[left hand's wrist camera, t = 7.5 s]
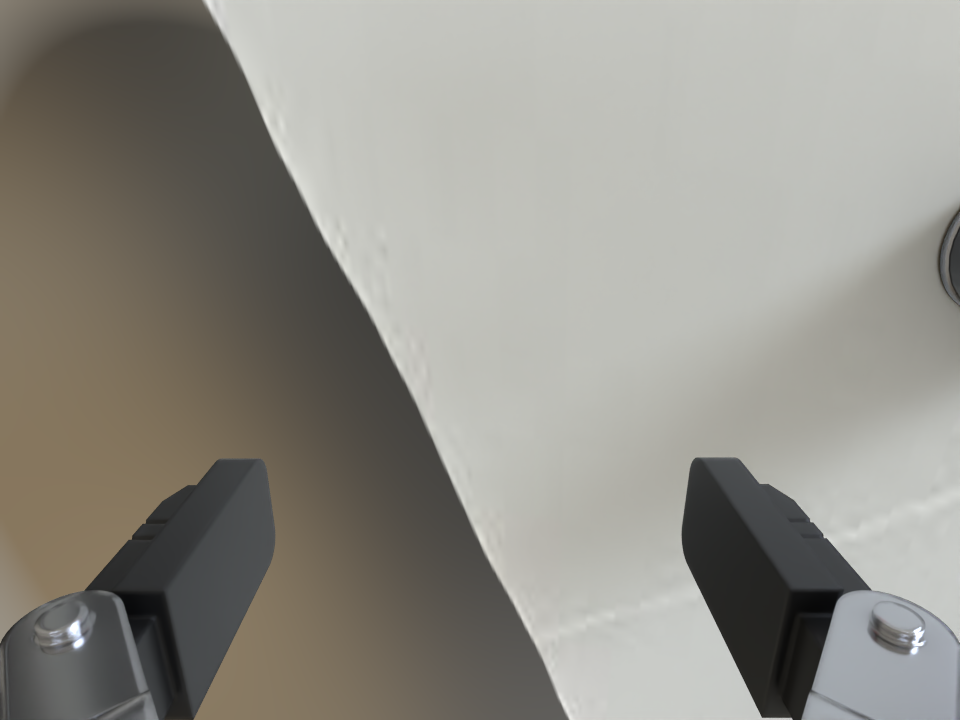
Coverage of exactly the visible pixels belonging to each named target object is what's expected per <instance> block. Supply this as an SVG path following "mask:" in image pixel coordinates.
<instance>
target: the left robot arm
mask: <svg viewBox="0 0 960 720" xmlns="http://www.w3.org/2000/svg"><path fill="white" fill-rule="evenodd" d="M940 272H941V277H942V281H943V284H944V286H945V289H946V290H947V292H948V294H949V295H950V297H951V298H952V299H953V300H954V301H955V302H956V303H957V304H958V305H960V212H959V213H958V214H957V216H956V217H955V219H954V220H953V222H952V224H951V226H950V228H949V229H948V232H947V234H946V236H945V239H944V242H943V246H942V250H941V256H940ZM274 546H275V526H274V519H273V511H272V504H271V497H270V490H269V483H268V475H267V469H266V466H265V463H264V461H263V460H262V459H219V460H217V461H216V462H215V463H214V465H213V466H212V467H211V468H210V469H209V471H208V472H207V473H206V474H205V476H204V477H203V478H202V479H201V480H200V482H199V483H198V484H197V485H188V486H186V487H185V488H183V489H181V490H180V491H178V492H176V493H175V494H173V495H172V496H170V497H169V498H167V499H165V500H164V501H162V502H161V504H160V505H159V506H158V507H157V508H156V509H155V510H154V512H153V513H152V514H151V515H150V516H149V517H148V519H147V520H146V524H142V525H141V526H140V528H139V529H138V530H137V531H136V532H135V533H134V534H133V536H132V540H128V541H127V543H126V544H125V545H124V546H123V547H122V548H121V549H120V550H119V552H118V553H117V554H116V555H115V556H114V557H113V559H112V560H111V561H110V562H109V563H108V564H107V565H106V567H105V568H104V569H103V570H102V571H101V572H100V573H99V575H98V576H97V577H96V578H95V579H94V580H93V581H92V583H91V584H90V585H89V586H88V587H87V588H86V589H85V591H81V592H76V593H72V594H68V595H65V596H62V597H59V598H57V599H54V600H52V601H49V602H47V603H45V604H43V605H41V606H39V607H38V608H36V609H34V610H33V611H31V612H29V613H28V614H27V615H25V616H24V617H23V618H21V619H20V620H19V621H18V622H17V623H15V624H14V625H13V626H12V627H11V628H10V630H9V631H8V632H7V633H6V635H5V636H4V637H3V639H2V641H1V643H0V720H193V719H194V717H195V715H196V713H197V711H198V709H199V707H200V705H201V703H202V701H203V699H204V697H205V695H206V693H207V691H208V689H209V687H210V685H211V683H212V681H213V679H214V677H215V675H216V673H217V671H218V669H219V667H220V665H221V663H222V661H223V659H224V657H225V655H226V652H227V651H228V648H229V646H230V644H231V642H232V640H233V638H234V636H235V634H236V632H237V630H238V628H239V626H240V624H241V622H242V620H243V618H244V616H245V614H246V612H247V610H248V608H249V606H250V604H251V602H252V600H253V598H254V596H255V594H256V592H257V590H258V588H259V586H260V584H261V582H262V580H263V577H264V575H265V573H266V571H267V569H268V567H269V565H270V563H271V560H272V557H273V552H274ZM682 546H683V552H684V556H685V559H686V562H687V564H688V566H689V569H690V571H691V573H692V575H693V577H694V579H695V581H696V583H697V585H698V587H699V589H700V591H701V593H702V595H703V597H704V599H705V601H706V603H707V605H708V608H709V610H710V612H711V614H712V616H713V618H714V620H715V622H716V624H717V626H718V628H719V630H720V632H721V634H722V636H723V638H724V640H725V642H726V644H727V647H728V649H729V651H730V653H731V655H732V657H733V659H734V661H735V663H736V665H737V667H738V669H739V671H740V673H741V675H742V677H743V679H744V681H745V684H746V686H747V688H748V690H749V692H750V694H751V696H752V698H753V700H754V702H755V704H756V706H757V708H758V710H759V712H760V714H761V716H762V718H792V719H793V720H960V643H959V641H958V639H957V637H956V636H955V635H954V633H953V632H952V631H951V630H950V628H949V627H948V626H947V625H946V624H945V623H943V622H942V621H941V620H940V619H939V618H938V617H936V616H935V615H933V614H932V613H931V612H929V611H927V610H926V609H924V608H922V607H921V606H919V605H917V604H915V603H913V602H911V601H908V600H906V599H903V598H901V597H898V596H895V595H892V594H888V593H884V592H879V591H872V590H871V589H870V588H869V587H868V585H867V584H866V583H865V582H864V581H863V580H862V578H861V577H860V576H859V575H858V574H857V573H856V572H855V570H854V569H853V568H852V567H851V566H850V565H849V563H848V562H847V561H846V560H845V559H844V558H843V557H842V555H841V554H840V553H839V552H838V551H837V550H836V548H835V547H834V546H833V545H832V544H831V543H830V542H829V540H828V539H827V538H824V537H823V533H822V532H821V531H820V530H819V529H818V528H817V527H816V525H815V524H814V523H810V518H809V517H808V516H807V515H806V514H805V513H804V512H803V510H802V509H801V508H800V507H799V506H798V505H797V503H796V502H795V501H794V500H793V499H791V498H789V497H788V496H786V495H785V494H783V493H782V492H780V491H778V490H777V489H775V488H774V487H772V486H771V485H769V484H759V483H758V482H757V480H756V479H755V478H754V477H753V475H752V474H751V473H750V472H749V470H748V469H747V468H746V467H745V466H744V464H743V463H742V462H741V461H740V460H739V459H738V458H695V459H694V460H693V461H692V464H691V467H690V473H689V480H688V487H687V495H686V502H685V509H684V517H683V524H682Z"/></svg>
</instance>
